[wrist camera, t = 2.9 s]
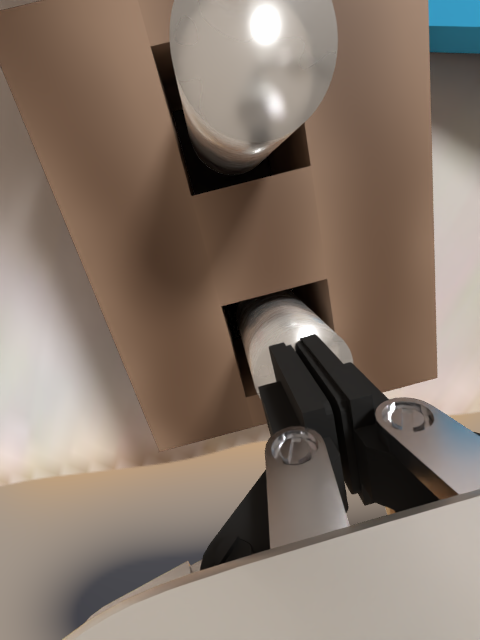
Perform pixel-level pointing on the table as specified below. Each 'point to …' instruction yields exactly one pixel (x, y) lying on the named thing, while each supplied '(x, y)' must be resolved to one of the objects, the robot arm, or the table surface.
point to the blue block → (454, 26)
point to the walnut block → (234, 202)
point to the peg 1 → (250, 73)
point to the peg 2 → (280, 331)
